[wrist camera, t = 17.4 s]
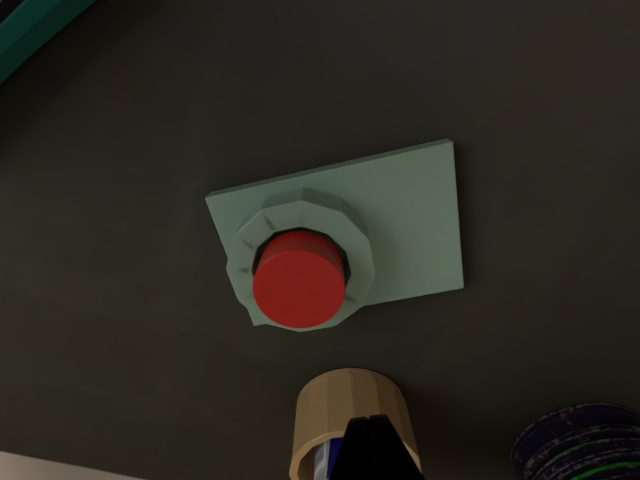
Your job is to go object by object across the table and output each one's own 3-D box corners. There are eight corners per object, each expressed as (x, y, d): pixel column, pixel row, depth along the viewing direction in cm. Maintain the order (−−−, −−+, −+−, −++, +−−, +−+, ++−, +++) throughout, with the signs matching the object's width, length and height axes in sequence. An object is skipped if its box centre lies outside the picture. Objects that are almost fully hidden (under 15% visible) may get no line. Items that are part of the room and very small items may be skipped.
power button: (333, 222, 16) (334, 241, 14) (350, 294, 18) (353, 320, 16) (249, 239, 17) (239, 260, 15) (273, 309, 18) (267, 335, 16)
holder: (397, 358, 23) (412, 421, 19) (411, 436, 26) (427, 504, 22) (282, 377, 24) (274, 441, 20) (310, 450, 27) (307, 518, 23)
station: (446, 138, 17) (469, 150, 14) (458, 278, 20) (478, 310, 18) (210, 191, 18) (189, 212, 16) (256, 315, 22) (246, 350, 19)
